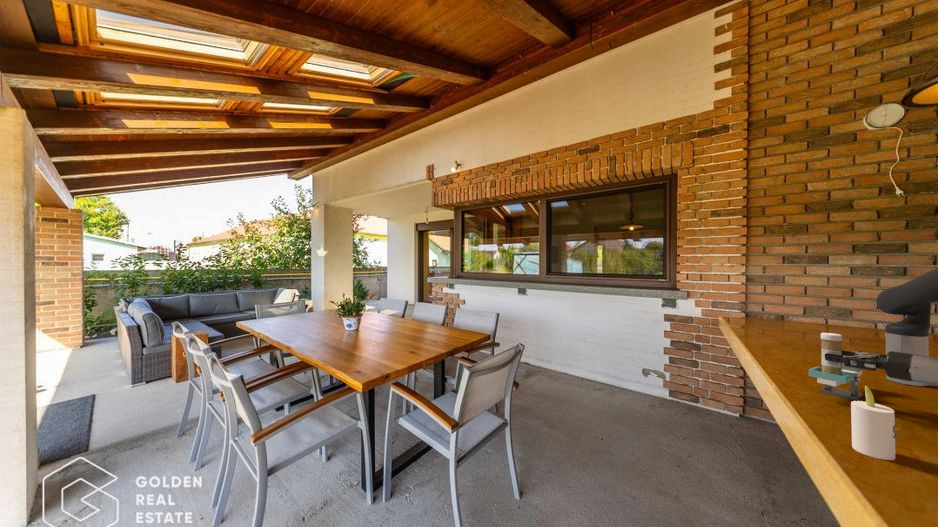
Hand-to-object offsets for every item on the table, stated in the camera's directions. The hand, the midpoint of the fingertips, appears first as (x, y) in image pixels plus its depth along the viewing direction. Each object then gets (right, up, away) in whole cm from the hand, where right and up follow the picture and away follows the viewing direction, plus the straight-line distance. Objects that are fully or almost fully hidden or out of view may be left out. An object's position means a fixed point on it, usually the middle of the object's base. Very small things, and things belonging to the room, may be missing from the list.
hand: (830, 354), depth 103 cm
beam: (+8, -9, +4) cm, 12 cm away
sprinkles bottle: (0, -7, -1) cm, 7 cm away
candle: (-22, -15, -28) cm, 39 cm away
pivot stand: (+8, -14, +4) cm, 17 cm away
